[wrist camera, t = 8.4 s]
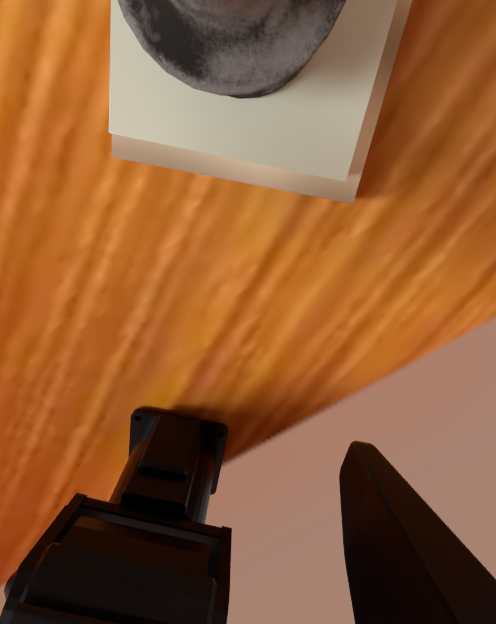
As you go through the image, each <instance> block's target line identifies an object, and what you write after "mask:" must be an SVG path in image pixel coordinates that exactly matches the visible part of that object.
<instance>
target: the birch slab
mask: <svg viewBox="0 0 496 624" xmlns="http://www.w3.org/2000/svg"><path fill="white" fill-rule="evenodd" d="M411 4H412V0H397V4H396V7H395V11H394V14H393V18H392V21H391V25H390V28H389V32H388V35H387V39H386V42H385V46H384V49H383V53H382V56H381V60H380V63H379V67H378V70H377V74H376V77H375V81H374V84H373V88H372V91H371V95H370V98H369V102H368V105H367V109H366V112H365V116H364V119H363V123H362V126H361V130H360V133H359V137H358V140H357V144H356V147H355V151H354V154H353V158H352V161H351V165H350V168H349V172H348V175H347V179H346V182H345V181H340V180H335V179H330V178H325V177H320V176H315V175H310V174H306V173H301V172H296V171H291V170H286V169H281V168H276V167H272V166H267V165H262V164H257V163H252V162H247V161H242V160H237V159H233V158H228V157H223V156H218V155H213V154H208V153H203V152H198V151H194V150H189V149H184V148H179V147H174V146H169V145H164V144H160V143H155V142H150V141H145V140H140V139H135V138H130V137H125V136H121V135H116V134H112V157H113V158H118V159H123V160H128V161H134V162H139V163H144V164H149V165H154V166H159V167H165V168H170V169H175V170H180V171H185V172H190V173H196V174H201V175H206V176H211V177H216V178H221V179H227V180H232V181H237V182H242V183H247V184H252V185H258V186H263V187H268V188H273V189H278V190H283V191H289V192H294V193H299V194H304V195H309V196H314V197H320V198H325V199H330V200H335V201H340V202H345V203H351V204H353V203H354V199H355V196H356V192H357V189H358V186H359V182H360V179H361V175H362V172H363V168H364V165H365V162H366V158H367V155H368V151H369V148H370V144H371V141H372V138H373V134H374V131H375V127H376V124H377V120H378V117H379V114H380V110H381V107H382V103H383V100H384V96H385V93H386V90H387V86H388V83H389V79H390V76H391V72H392V69H393V66H394V62H395V59H396V55H397V52H398V48H399V45H400V42H401V38H402V35H403V31H404V28H405V24H406V21H407V18H408V14H409V11H410V7H411Z"/></svg>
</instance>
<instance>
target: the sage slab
mask: <svg viewBox="0 0 496 624" xmlns="http://www.w3.org/2000/svg"><path fill="white" fill-rule="evenodd" d="M396 4H397V0H347V1H346V3H345V5H344V7H343V9H342V11H341V13H340V14H339V16H338V18H337V20H336V22H335V24H334V26H333V28H332V30H331V32H330V34H329V36H328V37H327V39H326V40H325V41H324V42H323V43H322V45H321V46H320V47H319V48H318V49H317V51H316V52H315V53H314V54H313V56H312V58H311V59H310V61H309V62H308V63H307V64H306V65H305V67H304V68H303V69H302V70H301V72H300V73H299V74H298V75H297V76H296V78H294V79H293V80H291V81H290V82H289V83H287V84H286V85H285V86H283V87H282V88H281V89H279V90H278V91H275V92H272V93H270V94H267V95H264V96H262V97H259V98H244V99H238V98H234V97H230V96H221V95H217V94H213V93H209V92H205V91H201V90H197V89H193V88H192V87H190V86H188V85H187V84H185V83H183V82H182V81H180V80H178V79H177V78H175V77H173V76H171V75H170V74H168V73H166V72H165V71H164V70H163V69H162V68H161V67H160V66H159V65H158V63H157V62H156V61H155V60H154V59H153V58H152V57H151V56H150V55H149V54H148V53H147V52H146V51H145V50H144V49H143V48H142V46H141V45H140V43H139V42H138V40H137V38H136V37H135V35H134V33H133V32H132V30H131V28H130V27H129V25H128V23H127V22H126V20H125V19H124V17H123V14H122V11H121V8H120V6H119V3H118V0H111V36H110V89H109V133H111V134H116V135H121V136H125V137H130V138H135V139H140V140H145V141H150V142H155V143H160V144H164V145H169V146H174V147H179V148H184V149H189V150H194V151H198V152H203V153H208V154H213V155H218V156H223V157H228V158H233V159H237V160H242V161H247V162H252V163H257V164H262V165H267V166H272V167H276V168H281V169H286V170H291V171H296V172H301V173H306V174H310V175H315V176H320V177H325V178H330V179H335V180H340V181H345V182H346V179H347V175H348V172H349V168H350V165H351V161H352V158H353V154H354V151H355V147H356V144H357V140H358V137H359V133H360V130H361V126H362V123H363V119H364V116H365V112H366V109H367V105H368V102H369V98H370V95H371V91H372V88H373V84H374V81H375V77H376V74H377V70H378V67H379V63H380V60H381V56H382V53H383V49H384V46H385V42H386V39H387V35H388V32H389V28H390V25H391V21H392V18H393V14H394V11H395V7H396Z"/></svg>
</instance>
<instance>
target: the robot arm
mask: <svg viewBox="0 0 496 624" xmlns="http://www.w3.org/2000/svg"><path fill="white" fill-rule="evenodd" d="M138 415H139V416H141V417H138ZM218 431H222V432H218ZM227 435H228V428H227V426H226V425H224V424H220V423H215V422H209V421H204V420H199V419H193V418H188V417H183V416H177V415H172V414H167V413H161V412H156V411H151V410H145V409H135V410H134V411H133V413H132V415H131V424H130V444H129V459H128V461H127V464H126V466H125V468H124V470H123V472H122V474H121V476H120V479H119V481H118V483H117V485H116V487H115V489H114V491H113V494H112V496H111V498H110V500H109V502H106V501H102V500H98V499H93V498H89V497H87V495H84V494H80V493H76V495H75V496H74V497H73V499H72V500H71V501H70V503H69V504H68V505H66V506H65V507H64V508H63V509H62V511H61V512H60V513H59V515H58V516H57V517H56V519H55V520H54V521H53V522H52V524H51V525H50V526H49V528H48V529H47V530H46V532H45V533H44V534H43V535H42V537H41V538H40V539H39V541H38V542H37V543H36V545H35V546H34V547H33V549H32V550H31V551H30V552H29V554H28V555H27V556H26V558H25V559H24V560H23V562H22V563H21V564H20V566H19V568H18V570H17V571H16V572H15V573H13V574H12V575H11V577H10V578H9V580H8V581H7V583H6V586H5V589H4V593H5V597H6V602H5V605H4V608H3V610H2V613H1V616H0V624H226V623H227V615H228V605H229V592H230V590H229V589H230V562H231V533H232V529H231V528H229V527H224V526H222V528H220V527H216V526H211V525H207V524H205V519H206V514H207V508H208V502H209V497H210V495H211V494H214V493H215V492H216V488H217V483H218V478H219V474H220V469H221V464H222V459H223V454H224V450H225V445H226V440H227ZM339 478H340V479H339V481H340V495H341V496H340V497H341V513H342V529H343V545H344V556H345V563H346V570H347V576H348V582H349V588H350V595H351V601H352V606H353V613H354V619H355V624H496V579H495V578H494V577H493V576H492V575H491V574H490V572H489V571H487V569H486V568H485V567H484V566H483V565H482V564H481V563H480V561H479V560H478V559H477V558H476V557H475V556H474V555H473V554H472V553H471V552H470V551H469V549H468V548H467V547H466V546H465V545H464V544H463V543H462V542H461V541H460V539H459V538H458V537H457V536H456V535H455V534H454V533H453V532H452V531H451V530H450V528H449V527H448V526H447V525H446V524H445V523H444V522H443V521H442V520H441V519H440V517H439V516H438V515H437V514H436V513H435V512H434V511H433V510H432V509H431V508H430V507H429V505H428V504H427V503H426V502H425V501H424V500H423V499H422V498H421V497H420V496H419V494H418V493H417V492H416V491H415V490H414V489H413V488H412V487H411V486H410V485H409V484H408V482H407V481H406V480H405V479H404V478H403V477H402V476H401V475H400V474H399V473H398V471H396V469H395V468H394V467H393V466H392V465H391V464H390V463H389V461H388V460H386V458H385V457H384V456H383V455H382V454H381V453H380V452H379V451H378V449H377V448H376V447H375V446H373V445H372V444H370V443H365V442H360V441H353V442H352V443H351V444H350V446H349V449H348V451H347V454H346V456H345V459H344V461H343V464H342V466H341V470H340V476H339Z"/></svg>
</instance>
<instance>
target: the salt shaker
mask: <svg viewBox="0 0 496 624" xmlns="http://www.w3.org/2000/svg"><path fill="white" fill-rule="evenodd" d="M346 1H347V0H118V3H119V6H120V8H121V11H122V14H123V17H124V19H125V20H126V22H127V23H128V25H129V27H130V28H131V30H132V32H133V33H134V35H135V37H136V38H137V40H138V42H139V43H140V45H141V46H142V48H143V49H144V50H145V51H146V52H147V53H148V54H149V55H150V56H151V57H152V58H153V59H154V60H155V61H156V62H157V63H158V65H159V66H160V67H161V68H162V69H163V70H164V71H165V72H166V73H168V74H170V75H171V76H173V77H175V78H177V79H178V80H180V81H182V82H183V83H185V84H187V85H188V86H190V87H192V88H193V89H197V90H201V91H205V92H209V93H213V94H217V95H221V96H230V97H234V98H238V99H244V98H259V97H262V96H264V95H267V94H270V93H272V92H275V91H278V90H279V89H281V88H282V87H283V86H285V85H286V84H287V83H289V82H290V81H291V80H293V79H294V78H296V76H297V75H298V74H299V73H300V72H301V70H302V69H303V68H304V67H305V65H306V64H307V63H308V62H309V61H310V59H311V58H312V56H313V54H314V53H315V52H316V51H317V49H318V48H319V47H320V46H321V45H322V43H323V42H324V41H325V40H326V39H327V37H328V36H329V34H330V32H331V30H332V28H333V26H334V24H335V22H336V20H337V18H338V16H339V14H340V13H341V11H342V9H343V7H344V5H345V3H346Z"/></svg>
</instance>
